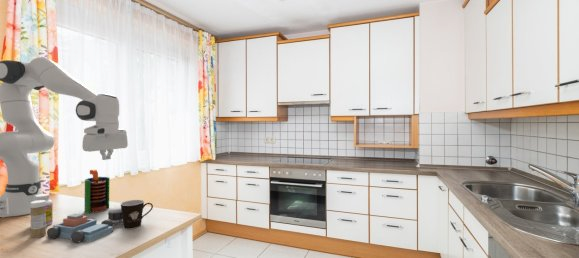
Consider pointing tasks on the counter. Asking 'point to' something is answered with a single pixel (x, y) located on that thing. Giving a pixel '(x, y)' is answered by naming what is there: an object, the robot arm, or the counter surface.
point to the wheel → (115, 213)
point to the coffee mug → (133, 213)
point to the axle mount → (117, 221)
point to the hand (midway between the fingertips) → (106, 159)
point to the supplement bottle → (48, 207)
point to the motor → (96, 193)
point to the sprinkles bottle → (38, 218)
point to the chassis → (81, 230)
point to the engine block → (74, 220)
